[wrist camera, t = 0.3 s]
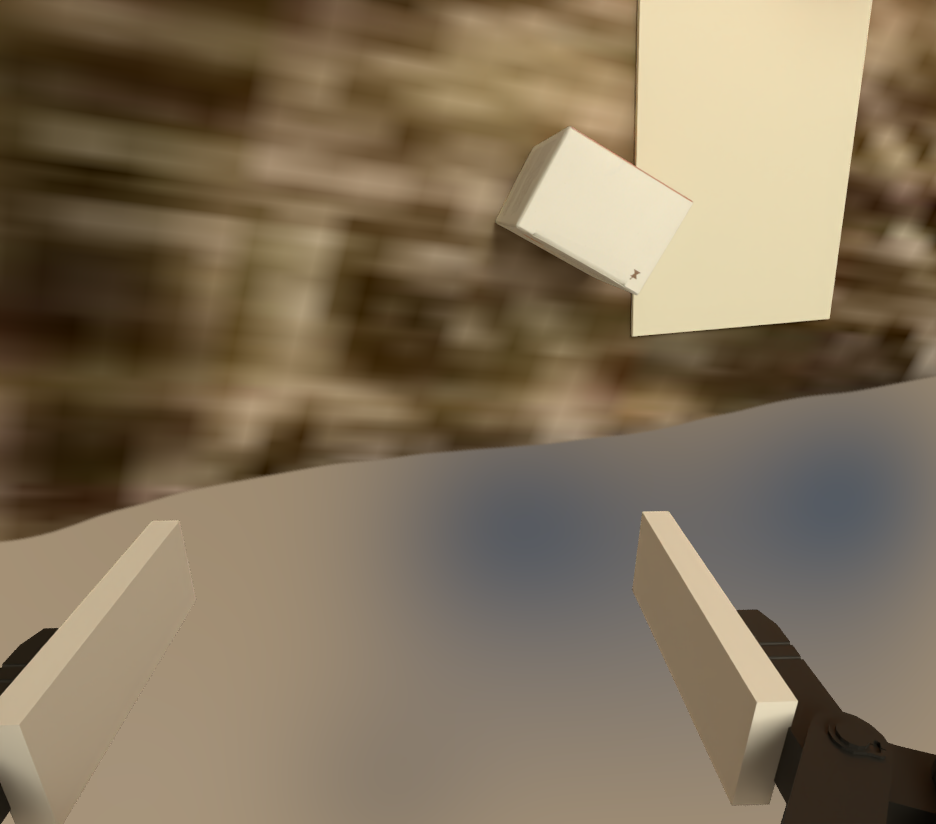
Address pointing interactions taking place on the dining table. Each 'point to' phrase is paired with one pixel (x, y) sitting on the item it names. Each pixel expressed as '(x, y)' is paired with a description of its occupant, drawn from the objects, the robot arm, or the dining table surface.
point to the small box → (593, 210)
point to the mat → (747, 155)
